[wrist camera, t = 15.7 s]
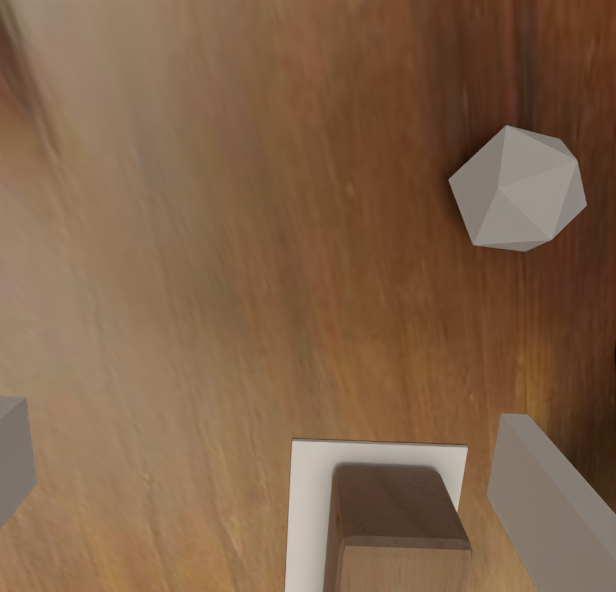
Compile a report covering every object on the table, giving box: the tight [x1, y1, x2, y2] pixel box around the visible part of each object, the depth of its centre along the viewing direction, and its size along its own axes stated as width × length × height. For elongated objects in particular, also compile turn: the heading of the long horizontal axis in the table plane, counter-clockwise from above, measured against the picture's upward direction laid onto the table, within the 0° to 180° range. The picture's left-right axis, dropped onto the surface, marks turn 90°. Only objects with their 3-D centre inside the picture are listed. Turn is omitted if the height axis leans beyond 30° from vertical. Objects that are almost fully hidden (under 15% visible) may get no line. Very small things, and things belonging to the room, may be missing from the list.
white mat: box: [285, 439, 468, 592], centre depth 47 cm, size 16×22×1 cm
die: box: [448, 125, 587, 252], centre depth 34 cm, size 8×9×10 cm
